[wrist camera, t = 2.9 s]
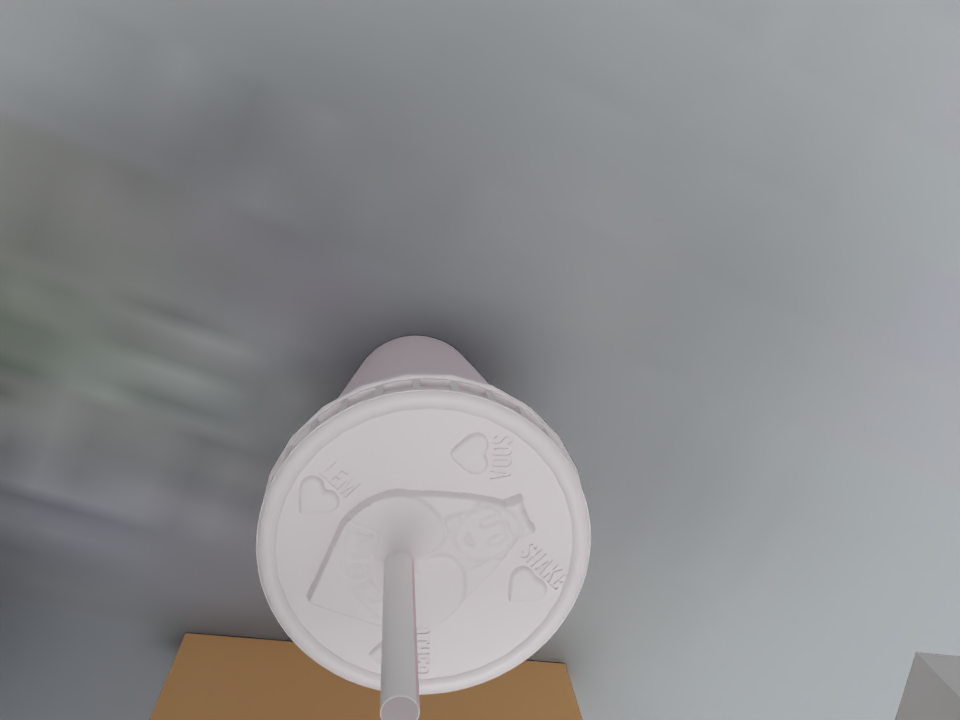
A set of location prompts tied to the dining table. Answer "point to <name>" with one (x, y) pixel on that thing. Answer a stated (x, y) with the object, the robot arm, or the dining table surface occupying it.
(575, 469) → the smoothie
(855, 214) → the dining table surface
